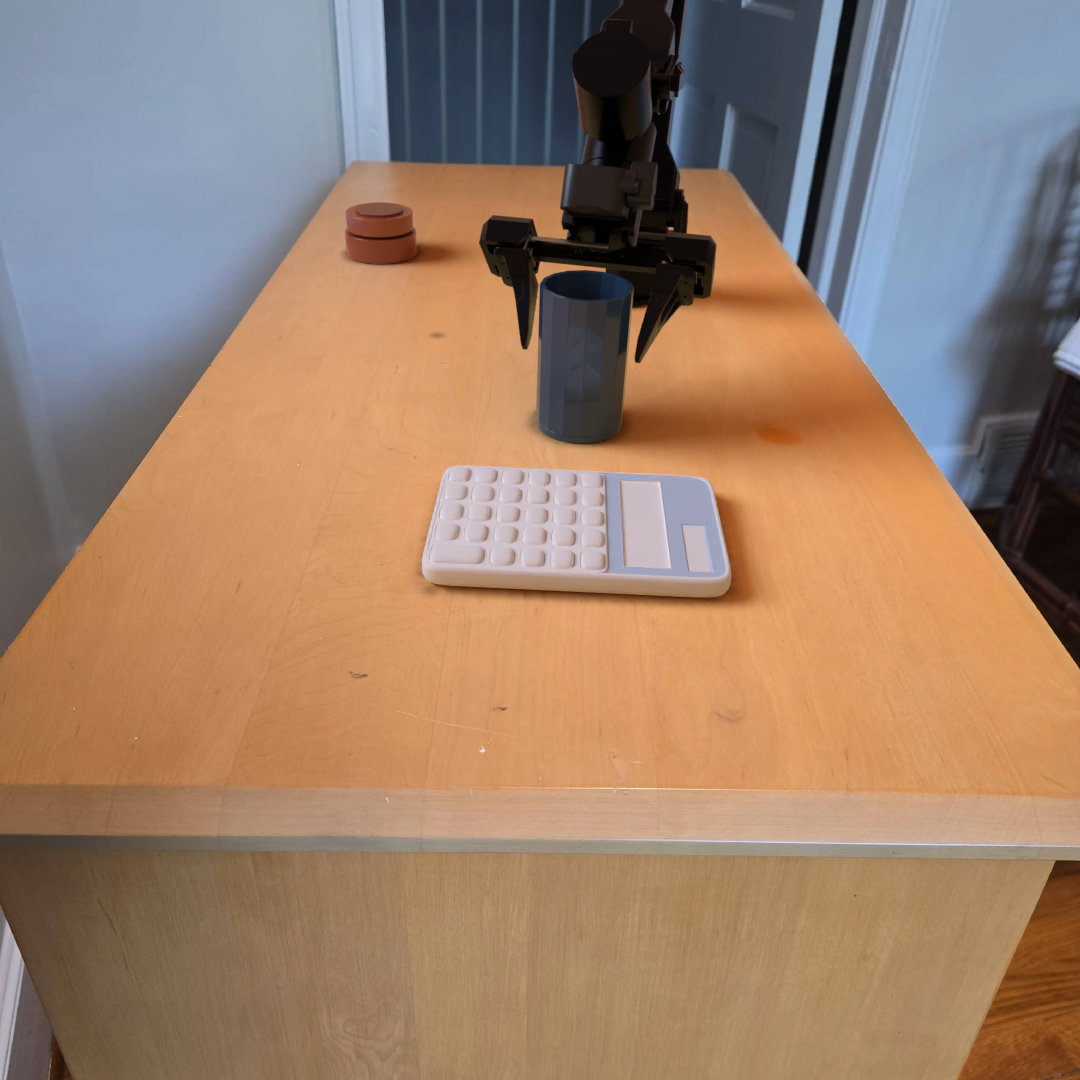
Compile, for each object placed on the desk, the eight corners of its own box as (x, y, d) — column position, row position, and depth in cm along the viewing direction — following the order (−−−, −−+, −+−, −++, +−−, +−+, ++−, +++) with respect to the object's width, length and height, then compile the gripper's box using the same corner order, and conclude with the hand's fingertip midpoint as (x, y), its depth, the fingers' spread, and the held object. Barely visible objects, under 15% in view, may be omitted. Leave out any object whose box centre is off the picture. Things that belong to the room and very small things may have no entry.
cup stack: (398, 239, 121) (395, 196, 118) (428, 257, 115) (427, 212, 112) (335, 248, 117) (331, 204, 114) (364, 268, 111) (360, 222, 108)
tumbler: (588, 398, 83) (597, 265, 77) (638, 430, 78) (652, 291, 72) (520, 416, 80) (523, 278, 73) (567, 451, 75) (575, 307, 68)
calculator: (445, 481, 71) (444, 459, 70) (709, 493, 70) (712, 471, 69) (419, 587, 60) (417, 563, 59) (732, 602, 59) (736, 578, 58)
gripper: (485, 106, 71) (443, 295, 68) (732, 125, 68) (699, 324, 65) (510, 189, 82) (475, 355, 79) (725, 209, 78) (696, 383, 76)
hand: (579, 354), depth 74 cm, fingers open, 9 cm apart
